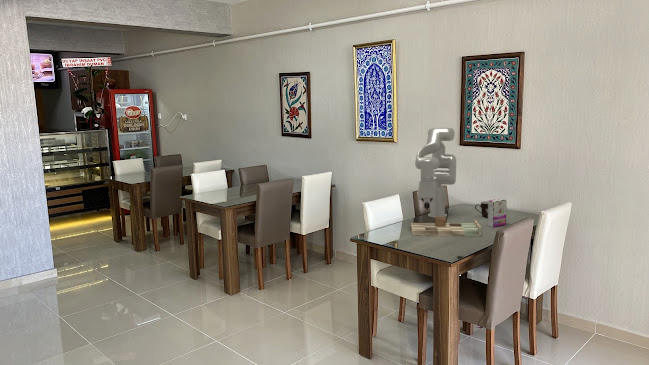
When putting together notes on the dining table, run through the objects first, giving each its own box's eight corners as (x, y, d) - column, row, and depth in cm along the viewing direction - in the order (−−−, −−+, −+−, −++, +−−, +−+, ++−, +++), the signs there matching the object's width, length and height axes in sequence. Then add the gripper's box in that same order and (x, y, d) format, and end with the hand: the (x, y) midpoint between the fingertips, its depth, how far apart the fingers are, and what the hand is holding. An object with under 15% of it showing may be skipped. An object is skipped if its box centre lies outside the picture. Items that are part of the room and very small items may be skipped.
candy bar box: (500, 223, 308) (500, 198, 305) (506, 225, 303) (507, 199, 301) (487, 226, 303) (487, 200, 300) (493, 227, 298) (493, 201, 296)
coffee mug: (495, 216, 327) (495, 201, 326) (492, 219, 320) (492, 204, 319) (477, 214, 334) (478, 200, 332) (474, 217, 326) (474, 202, 325)
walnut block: (435, 224, 299) (435, 216, 298) (445, 224, 298) (445, 216, 297) (435, 226, 293) (435, 218, 292) (445, 226, 292) (445, 218, 291)
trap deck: (410, 227, 304) (410, 219, 303) (475, 228, 298) (475, 219, 297) (411, 235, 285) (411, 226, 284) (480, 236, 280) (480, 226, 279)
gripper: (439, 178, 295) (439, 208, 298) (414, 178, 298) (414, 207, 301) (439, 180, 288) (439, 210, 291) (414, 180, 291) (414, 210, 294)
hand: (426, 209), depth 296 cm, fingers closed
